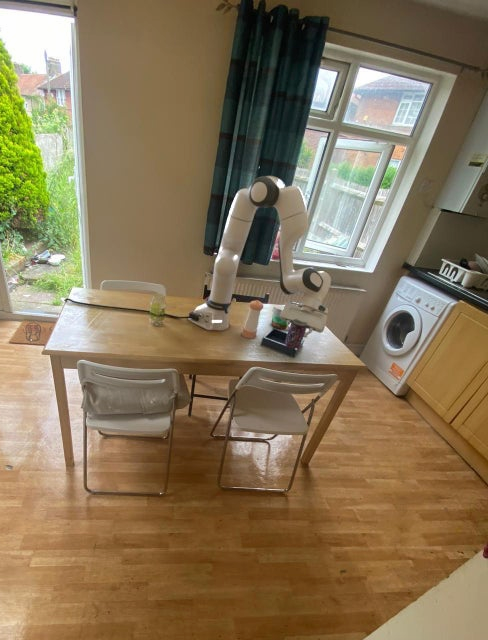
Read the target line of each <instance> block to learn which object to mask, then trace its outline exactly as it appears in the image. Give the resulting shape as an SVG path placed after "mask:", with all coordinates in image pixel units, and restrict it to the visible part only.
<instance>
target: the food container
mask: <svg viewBox="0 0 488 640" xmlns="http://www.w3.org/2000/svg"><path fill="white" fill-rule="evenodd" d="M282 310H283V309H279V308H277V307H276V306H274V307H273V309H272V317H271V322H270V326H271V327H272V328H275V329H278V330H281V331H286V328H287V321H284V320H281V318H280V314H281V312H282ZM288 325H289V324H288ZM289 326H290V325H289Z"/></svg>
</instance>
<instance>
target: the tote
mask: <svg viewBox="0 0 488 640" xmlns="http://www.w3.org/2000/svg"><path fill="white" fill-rule="evenodd" d="M287 334H288V332H287V331H284V330H279V329H276V328H274V327H272V328H271V329H270V330H269V331H268V332H267V333H266V334H264V336H263V337H262V341H261V343H260V345H261V346H263V347H265V348H268V349H270V350H274V351H276V352H279V353H282V354H284V355H287V356H289V357H292V358H295V357H296V356H297V354H298V353H299V351H300V350H301V349H302V347H303V345H304V342H305V340H306V338H303V339H302V342H301V345H300V347H299V348H297V349H291V348H289V347H287V346H286V345H285V340H286V337H287Z"/></svg>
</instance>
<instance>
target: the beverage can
mask: <svg viewBox="0 0 488 640" xmlns="http://www.w3.org/2000/svg"><path fill="white" fill-rule="evenodd" d="M306 325H307V323H306V322H305V323H304V322H301V321H299V320H298V319H295V320H293V322H292V323H290V325H289V327H290V328H289V331H287V333H288V334H287V337H286V340H285V345H286V346H287V347H289V348H291V349H297V348H299V347H300V345H301V342H302V339H304V337H303V335H304V333H305V332H307V327H306Z"/></svg>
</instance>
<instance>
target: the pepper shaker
mask: <svg viewBox="0 0 488 640" xmlns="http://www.w3.org/2000/svg"><path fill="white" fill-rule="evenodd" d="M263 308H264V304H263V302H261V301H260V300H259V299H256V300H252V301H250V302H249V310H248V315H247V317H246V320H245V322H244V326H243V328H242V332H241V335H242V336H243V338H247V339H255V338H256V336H257V332H258V326H259V319H260V315H261V311H262V310H263Z"/></svg>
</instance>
